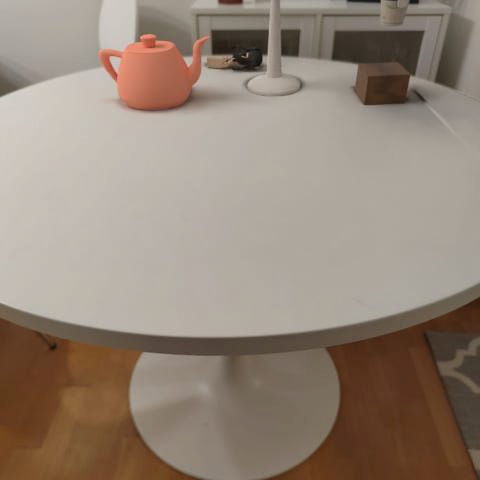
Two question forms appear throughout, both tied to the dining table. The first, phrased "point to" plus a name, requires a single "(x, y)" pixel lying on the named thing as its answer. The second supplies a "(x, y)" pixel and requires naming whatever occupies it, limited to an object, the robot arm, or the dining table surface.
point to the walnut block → (382, 83)
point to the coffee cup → (392, 13)
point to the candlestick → (274, 63)
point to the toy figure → (238, 59)
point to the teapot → (153, 73)
